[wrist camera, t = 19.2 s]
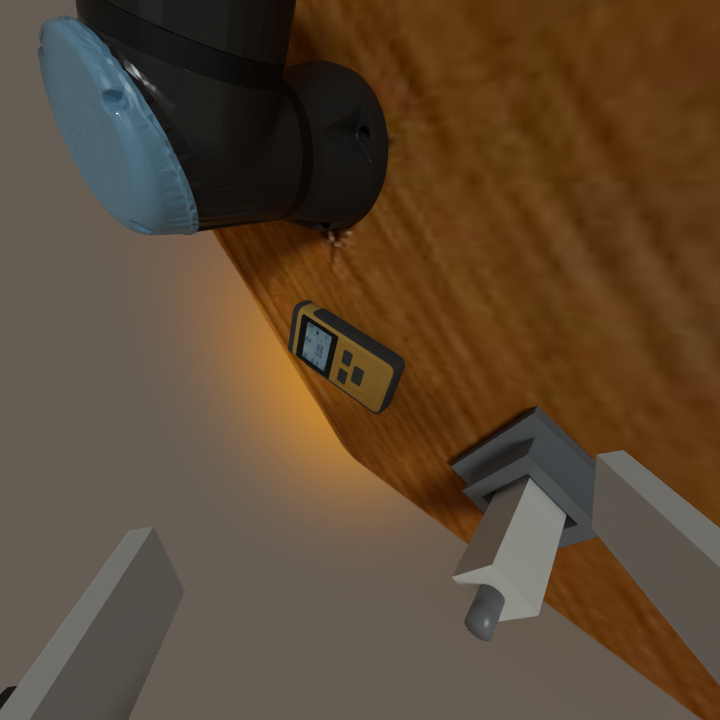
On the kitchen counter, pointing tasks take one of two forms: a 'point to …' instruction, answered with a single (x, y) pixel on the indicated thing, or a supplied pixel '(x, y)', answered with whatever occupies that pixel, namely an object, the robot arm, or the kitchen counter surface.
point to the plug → (510, 556)
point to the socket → (534, 470)
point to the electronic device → (345, 356)
